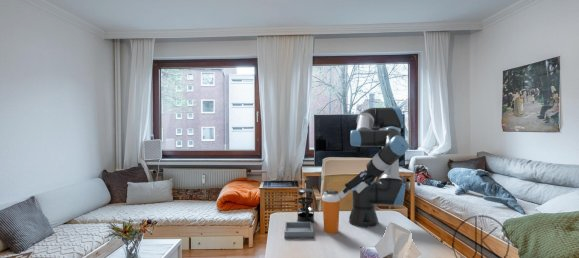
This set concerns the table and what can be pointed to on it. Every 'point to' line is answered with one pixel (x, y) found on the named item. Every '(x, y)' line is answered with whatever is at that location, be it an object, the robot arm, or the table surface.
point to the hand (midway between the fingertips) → (349, 193)
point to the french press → (305, 205)
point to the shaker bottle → (331, 211)
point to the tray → (298, 230)
